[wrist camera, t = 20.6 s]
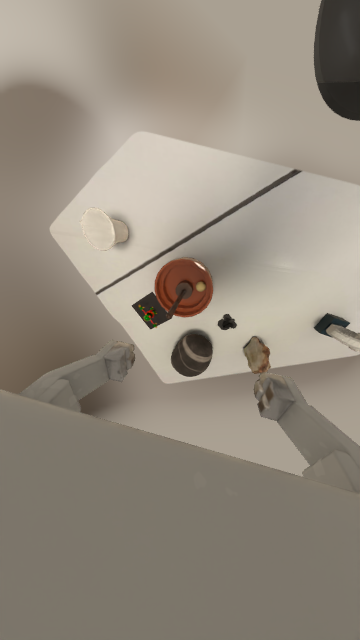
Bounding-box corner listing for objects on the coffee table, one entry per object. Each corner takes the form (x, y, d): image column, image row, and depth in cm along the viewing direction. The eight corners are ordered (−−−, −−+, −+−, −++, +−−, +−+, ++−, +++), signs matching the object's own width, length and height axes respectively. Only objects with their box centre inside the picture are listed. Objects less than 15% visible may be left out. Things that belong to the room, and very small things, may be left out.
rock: (238, 350, 56) (250, 333, 49) (253, 352, 56) (267, 335, 50) (248, 378, 47) (264, 362, 41) (266, 380, 47) (285, 364, 41)
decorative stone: (186, 322, 53) (181, 337, 44) (220, 337, 53) (222, 356, 45) (169, 356, 63) (162, 373, 54) (199, 369, 63) (197, 388, 54)
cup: (108, 207, 40) (80, 198, 32) (137, 224, 41) (117, 220, 32) (103, 239, 45) (77, 239, 36) (129, 254, 45) (110, 257, 37)
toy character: (152, 291, 50) (144, 298, 44) (171, 318, 53) (166, 327, 48) (131, 305, 54) (122, 313, 48) (150, 329, 58) (143, 338, 52)
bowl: (161, 253, 43) (154, 255, 38) (218, 260, 41) (219, 263, 36) (160, 305, 52) (154, 312, 47) (207, 313, 50) (206, 321, 45)
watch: (333, 334, 45) (365, 358, 35) (308, 326, 45) (334, 348, 36) (348, 319, 42) (388, 342, 32) (321, 311, 42) (353, 330, 33)
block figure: (215, 323, 48) (229, 315, 46) (215, 320, 50) (229, 312, 48) (225, 336, 50) (239, 328, 47) (224, 332, 52) (238, 325, 49)
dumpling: (201, 280, 41) (209, 284, 43) (196, 279, 44) (203, 282, 45) (197, 290, 42) (205, 293, 43) (192, 289, 44) (200, 291, 46)
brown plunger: (179, 278, 45) (157, 302, 27) (195, 282, 45) (184, 309, 27) (176, 293, 48) (154, 324, 29) (190, 297, 47) (177, 331, 29)
